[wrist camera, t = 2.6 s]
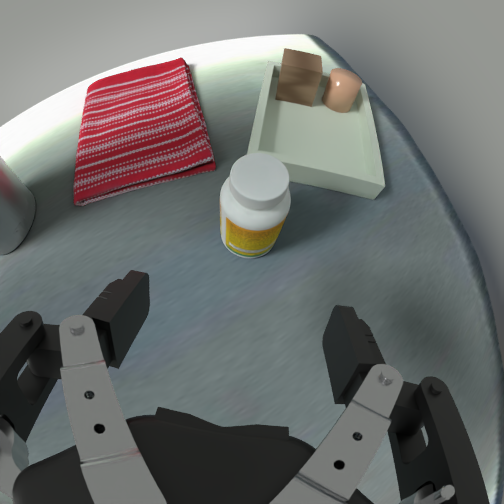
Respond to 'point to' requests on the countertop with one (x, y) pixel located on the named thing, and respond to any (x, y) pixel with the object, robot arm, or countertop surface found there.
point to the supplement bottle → (254, 204)
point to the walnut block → (299, 77)
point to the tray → (319, 140)
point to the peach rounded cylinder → (341, 90)
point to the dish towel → (140, 132)
